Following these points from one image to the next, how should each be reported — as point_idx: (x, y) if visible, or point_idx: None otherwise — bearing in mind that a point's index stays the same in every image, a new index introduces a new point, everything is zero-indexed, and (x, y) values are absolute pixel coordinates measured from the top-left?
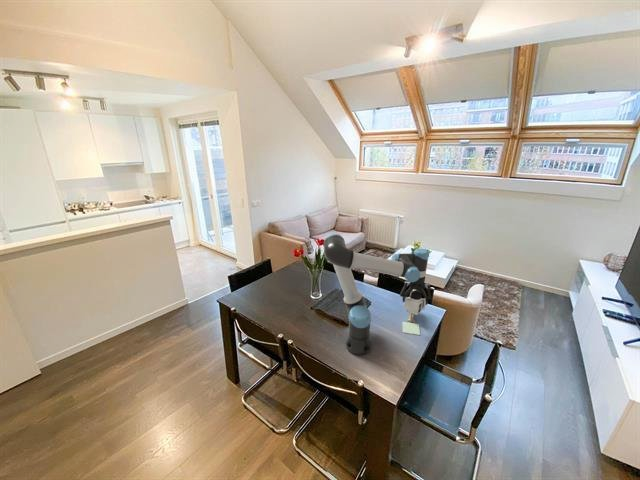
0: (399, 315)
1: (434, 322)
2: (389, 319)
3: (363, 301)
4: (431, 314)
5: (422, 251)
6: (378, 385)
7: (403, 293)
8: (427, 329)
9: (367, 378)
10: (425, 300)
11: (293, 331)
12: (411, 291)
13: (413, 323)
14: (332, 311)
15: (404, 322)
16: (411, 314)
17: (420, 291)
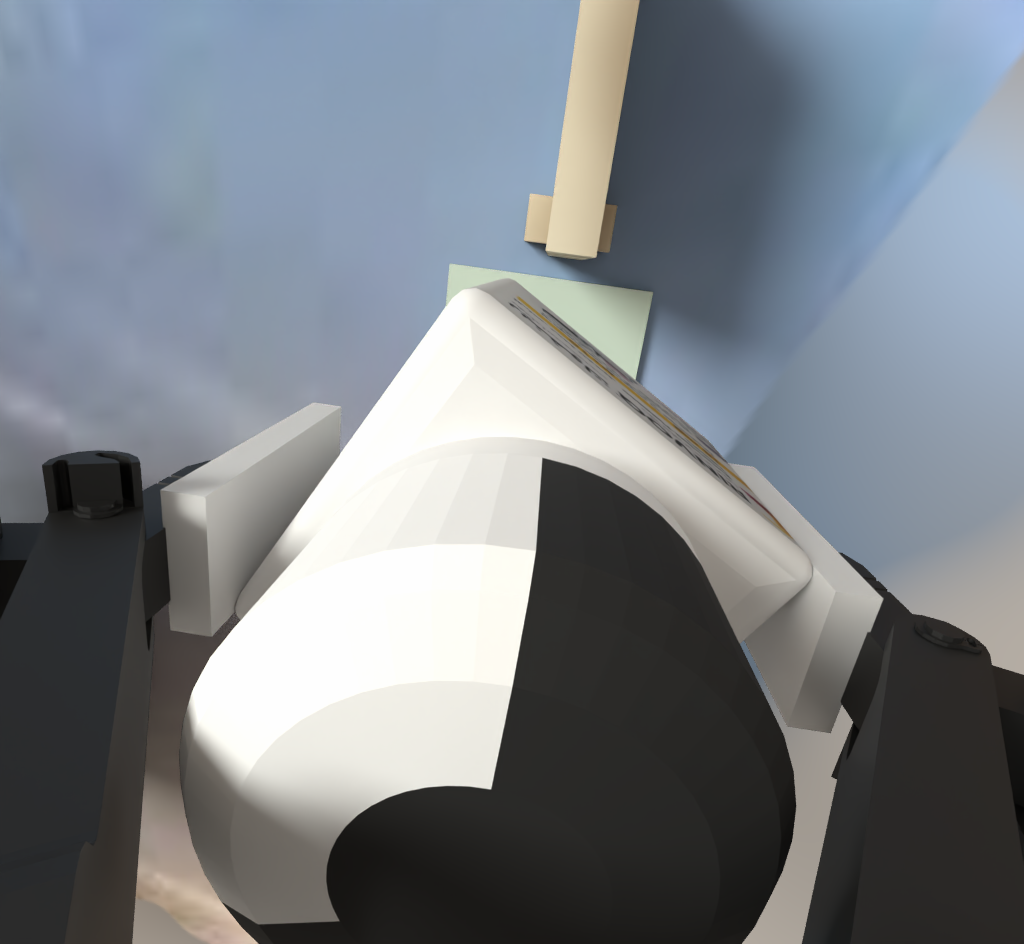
0: (429, 106)
1: (887, 218)
2: (290, 223)
3: None
4: (933, 5)
5: None
6: (232, 924)
7: None
8: (734, 374)
9: (161, 888)
10: (823, 714)
11: None
12: (208, 835)
13: (587, 286)
14: None
15: (474, 278)
16: (555, 254)
17: (760, 795)
